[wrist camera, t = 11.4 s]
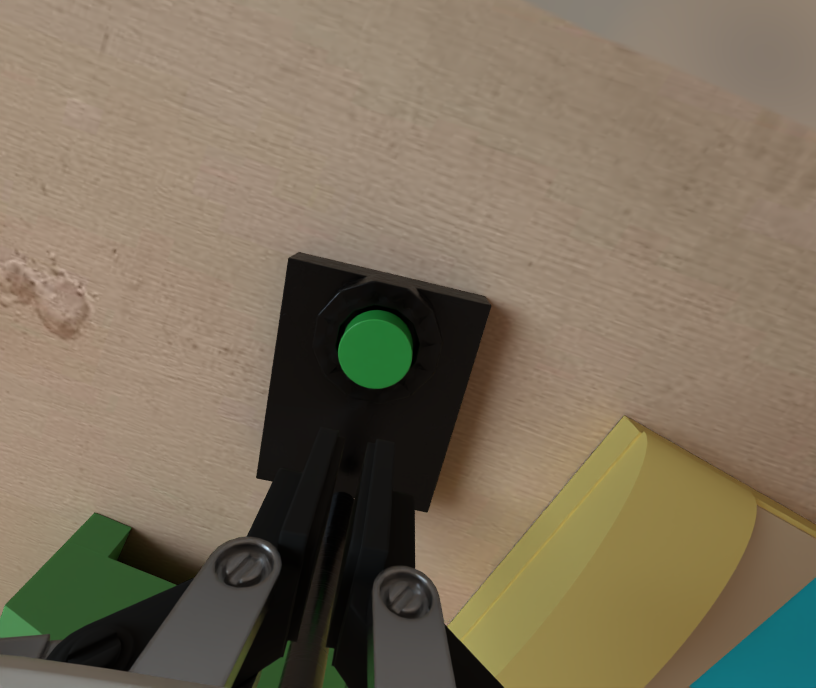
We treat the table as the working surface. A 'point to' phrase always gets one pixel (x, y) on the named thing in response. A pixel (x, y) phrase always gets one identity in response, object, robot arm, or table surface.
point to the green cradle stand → (98, 592)
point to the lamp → (319, 604)
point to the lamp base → (360, 406)
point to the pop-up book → (651, 581)
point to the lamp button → (376, 349)
